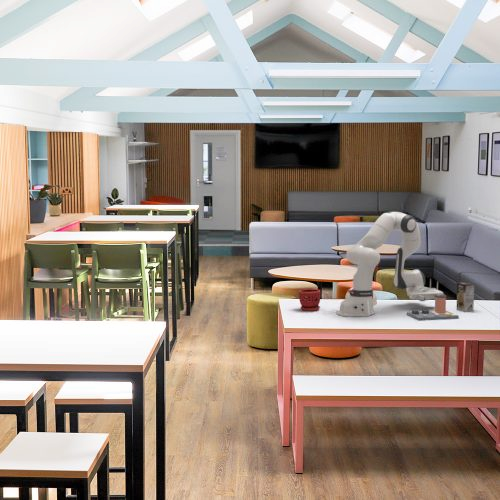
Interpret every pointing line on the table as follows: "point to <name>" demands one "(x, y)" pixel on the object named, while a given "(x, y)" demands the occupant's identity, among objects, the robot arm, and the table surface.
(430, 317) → the switch board
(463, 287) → the coffee box
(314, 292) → the plant pot
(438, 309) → the block
